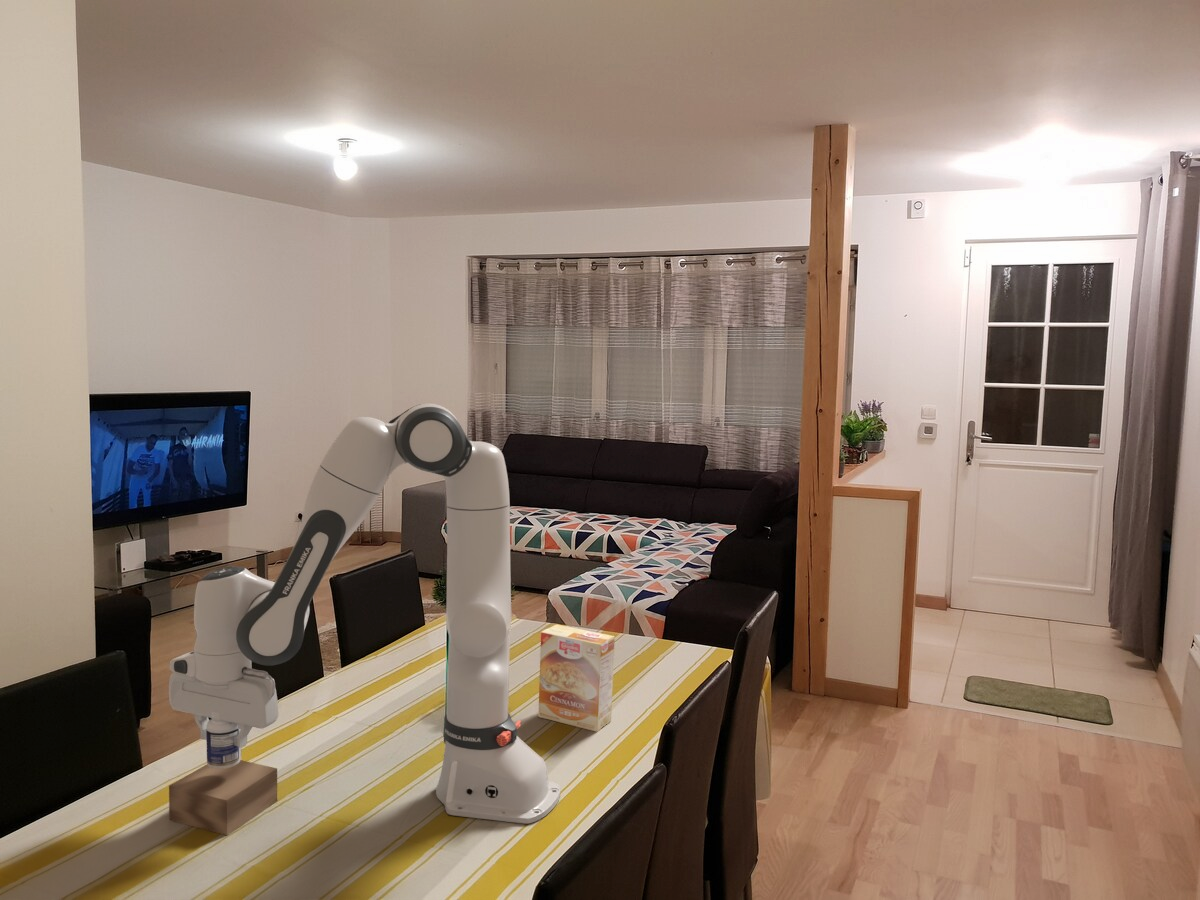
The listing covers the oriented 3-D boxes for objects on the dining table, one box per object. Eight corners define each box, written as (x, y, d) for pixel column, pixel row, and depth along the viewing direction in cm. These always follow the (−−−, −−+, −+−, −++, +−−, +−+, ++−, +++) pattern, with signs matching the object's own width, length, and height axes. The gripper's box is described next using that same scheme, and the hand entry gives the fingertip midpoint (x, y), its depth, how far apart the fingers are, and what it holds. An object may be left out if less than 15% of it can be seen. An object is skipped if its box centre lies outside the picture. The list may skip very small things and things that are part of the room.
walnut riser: (277, 801, 154) (277, 768, 153) (227, 835, 143) (226, 800, 142) (222, 787, 158) (222, 755, 157) (169, 820, 147) (168, 785, 146)
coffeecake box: (537, 717, 193) (539, 631, 191) (553, 706, 200) (556, 623, 198) (597, 733, 187) (600, 643, 184) (612, 721, 193) (615, 634, 191)
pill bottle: (213, 755, 152) (212, 701, 151) (245, 755, 152) (245, 701, 151) (201, 770, 146) (201, 713, 145) (235, 770, 147) (234, 713, 146)
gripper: (286, 666, 147) (286, 746, 148) (190, 648, 154) (191, 724, 155) (260, 679, 141) (260, 761, 143) (161, 660, 148) (162, 738, 149)
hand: (223, 742), depth 149 cm, fingers closed on pill bottle, 5 cm apart
